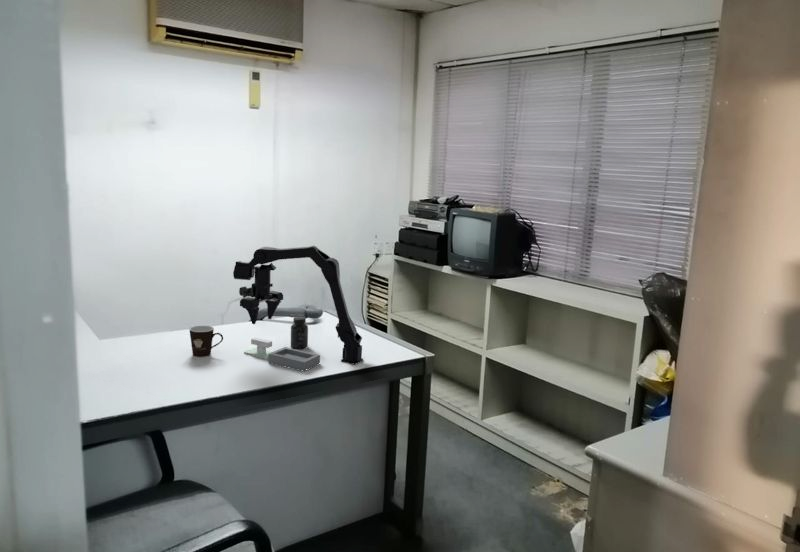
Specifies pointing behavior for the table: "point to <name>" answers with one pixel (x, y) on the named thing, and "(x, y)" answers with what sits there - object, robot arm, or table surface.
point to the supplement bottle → (299, 333)
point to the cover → (259, 348)
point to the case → (294, 358)
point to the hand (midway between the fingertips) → (261, 321)
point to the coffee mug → (202, 340)
